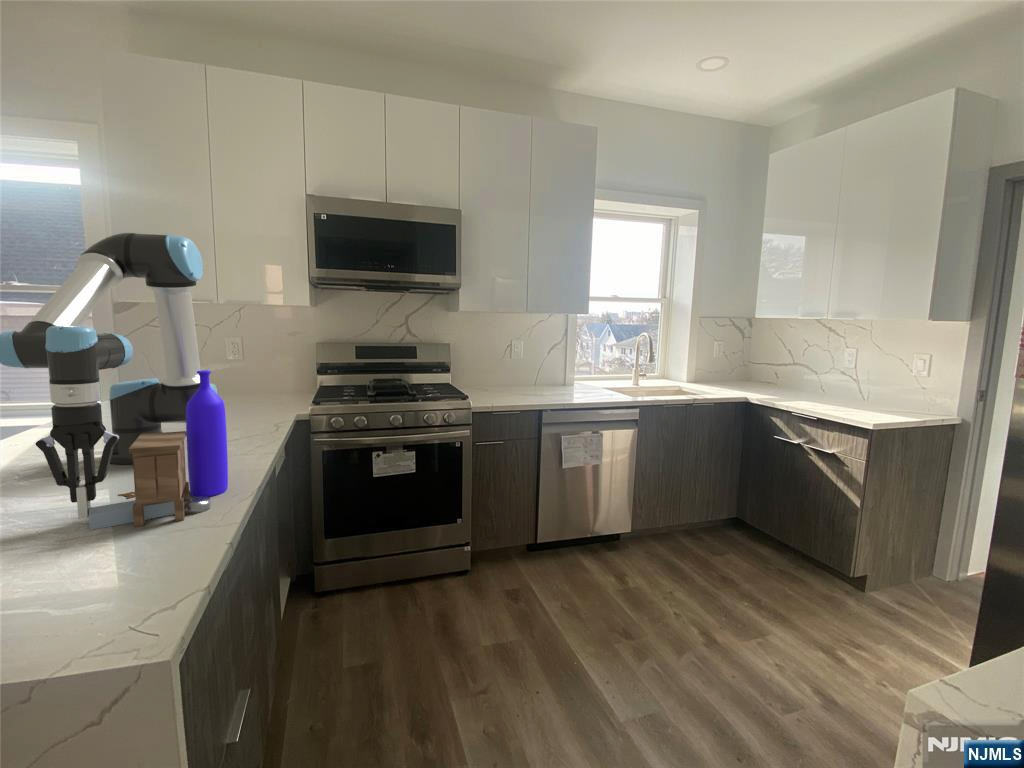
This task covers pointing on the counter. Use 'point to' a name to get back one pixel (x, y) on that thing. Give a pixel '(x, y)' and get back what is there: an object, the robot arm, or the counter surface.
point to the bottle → (206, 441)
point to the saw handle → (128, 495)
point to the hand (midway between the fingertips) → (84, 515)
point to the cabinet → (159, 472)
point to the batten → (126, 513)
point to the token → (196, 505)
